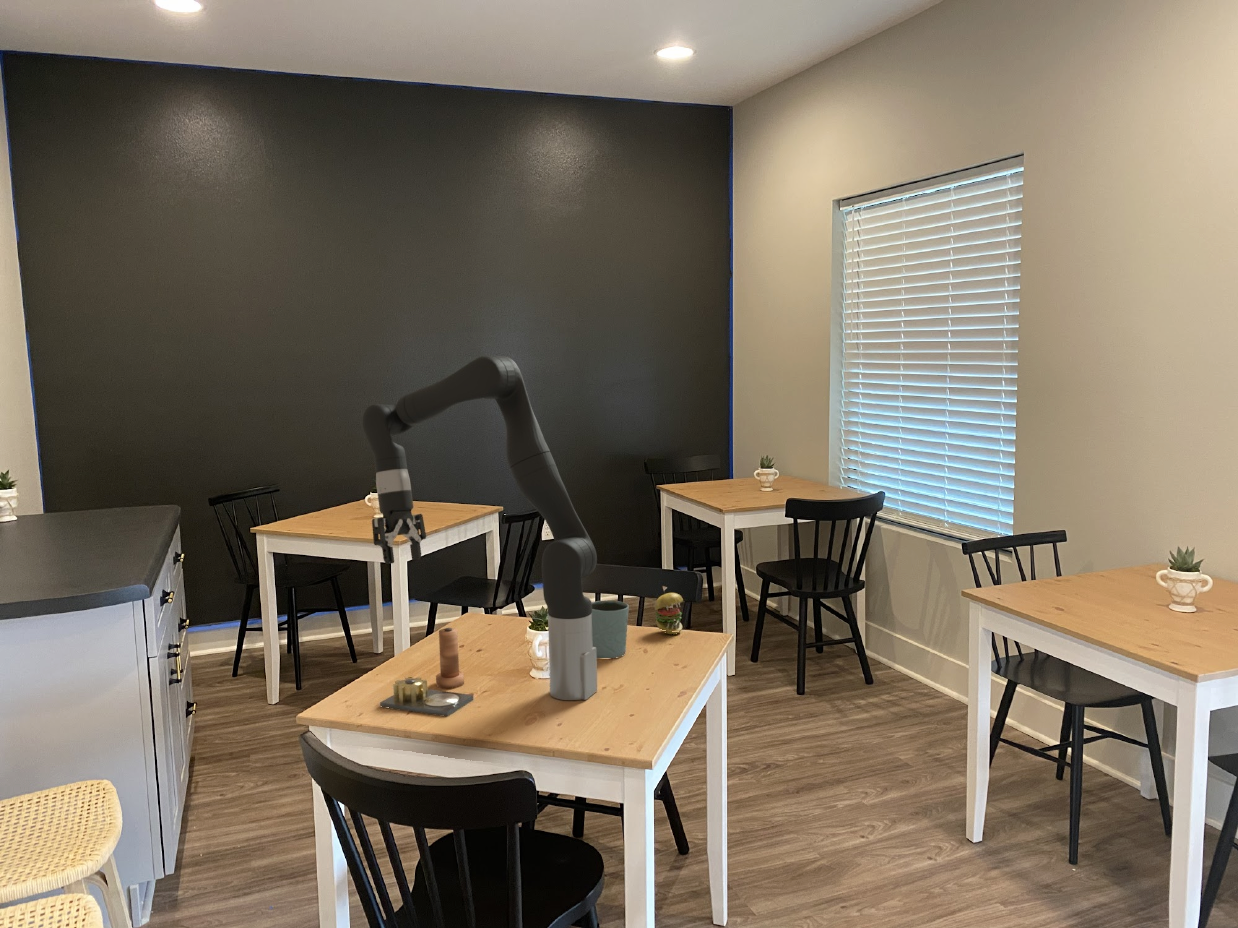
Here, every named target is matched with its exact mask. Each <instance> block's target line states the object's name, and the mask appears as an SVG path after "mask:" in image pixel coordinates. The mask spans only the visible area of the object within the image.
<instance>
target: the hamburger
mask: <svg viewBox="0 0 1238 928" xmlns="http://www.w3.org/2000/svg"><path fill="white" fill-rule="evenodd" d="M662 589H663V592H664V594H662V595H660V596H659V597H658V598H657V599H656V600H655V602H654V609H655V614H656V617H655V619H656V626H657V628H658V630H660V629H662V630H666V631H661V632H662V633H664V632H666V633H665V634H667V635H672V634H673V635H677V634H676V633H678V634H679V633H681V631H682V629H683V624H682V623H681V619H682V614H683V612H681V611H680V608H681V603H683V602H684V599H683V597H682V595H680V593H679V594H678V593H676V592H668V593H665V590H666V589H668V587H667V586H664V585H662ZM674 606H676V607H674ZM672 631H679V632H672Z"/></svg>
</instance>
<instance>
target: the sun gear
mask: <svg viewBox="0 0 1238 928" xmlns="http://www.w3.org/2000/svg"><path fill="white" fill-rule="evenodd" d="M394 682H395V683H394V684H393V685H392V686H393V688H392V689H393V695H394V700H396V699H399V702H404V701H411V702H415V701H416V700H418V699H424V698H426V695H428V694H427V689H428V680H427V679H422V677H418V676H417V677H415V678H414V677H413V678H412V677H411V678H410V677H404V679H402V680H401V679H398V680H395V681H394Z"/></svg>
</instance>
